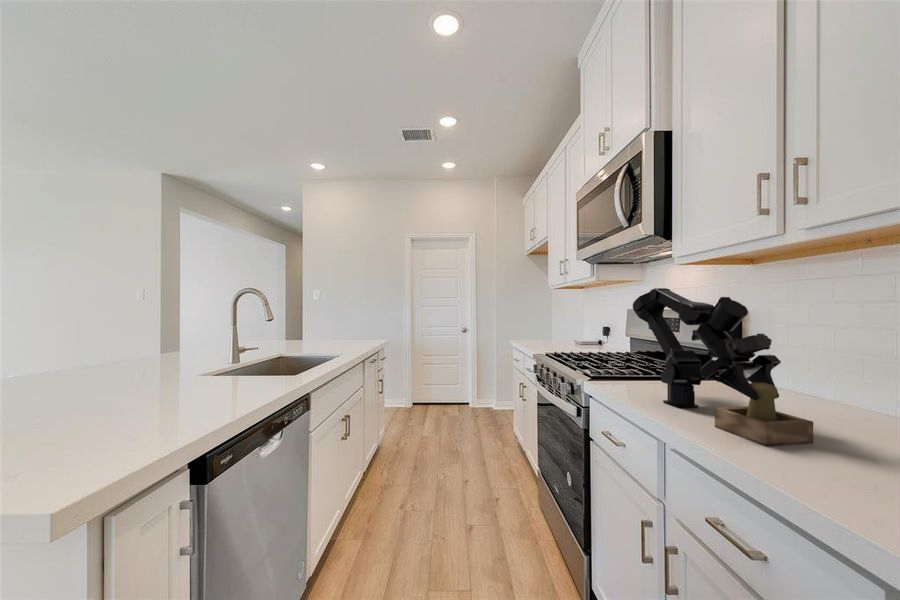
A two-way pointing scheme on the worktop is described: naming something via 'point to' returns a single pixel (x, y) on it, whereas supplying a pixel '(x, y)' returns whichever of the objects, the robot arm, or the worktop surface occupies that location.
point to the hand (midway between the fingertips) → (767, 398)
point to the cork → (763, 402)
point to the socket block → (764, 427)
